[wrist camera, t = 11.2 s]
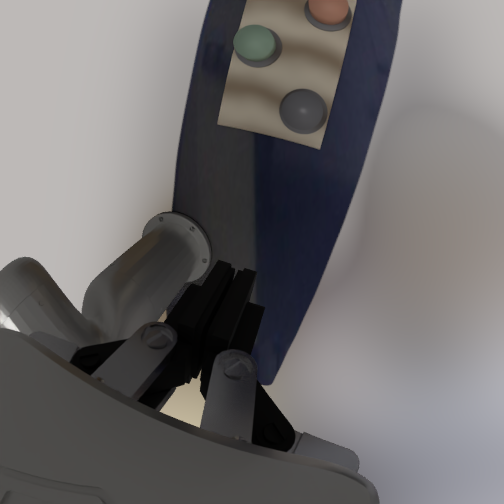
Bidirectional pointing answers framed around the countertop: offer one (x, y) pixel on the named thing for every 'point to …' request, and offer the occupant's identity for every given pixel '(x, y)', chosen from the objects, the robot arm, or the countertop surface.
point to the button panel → (285, 70)
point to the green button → (254, 43)
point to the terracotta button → (329, 11)
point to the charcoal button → (302, 110)
